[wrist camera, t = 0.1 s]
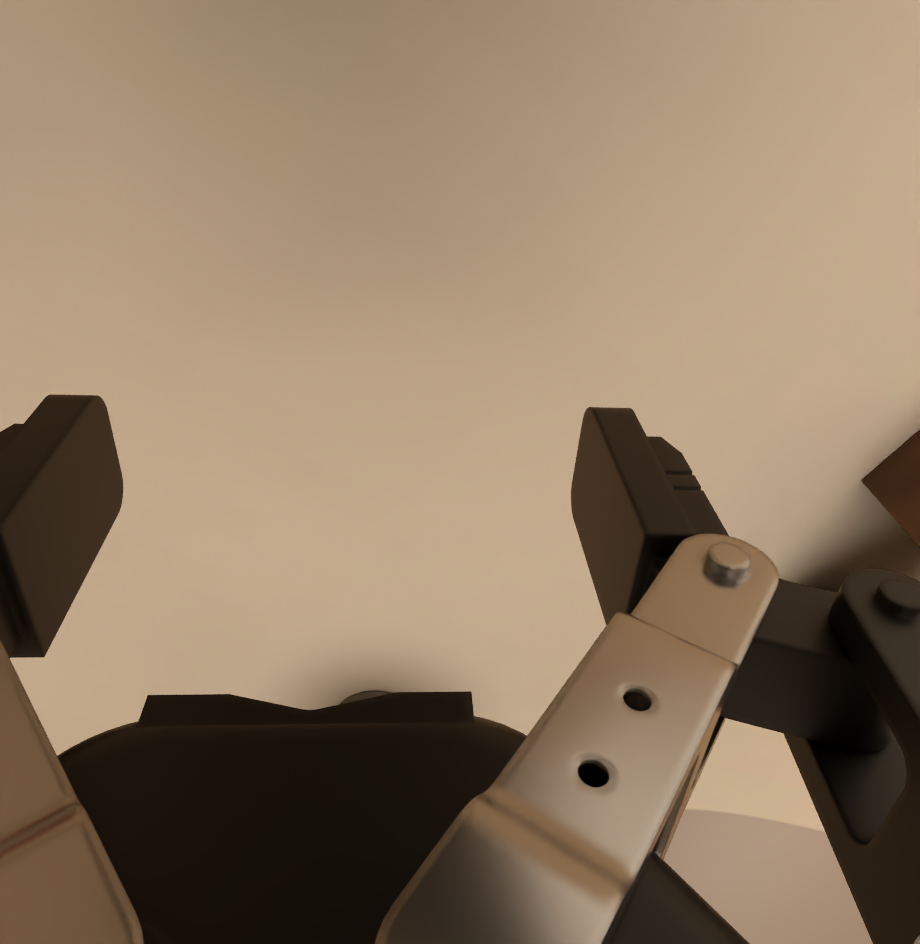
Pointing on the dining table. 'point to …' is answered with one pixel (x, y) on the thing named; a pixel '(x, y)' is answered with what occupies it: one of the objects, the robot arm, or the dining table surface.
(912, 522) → the walnut block
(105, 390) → the dining table surface
